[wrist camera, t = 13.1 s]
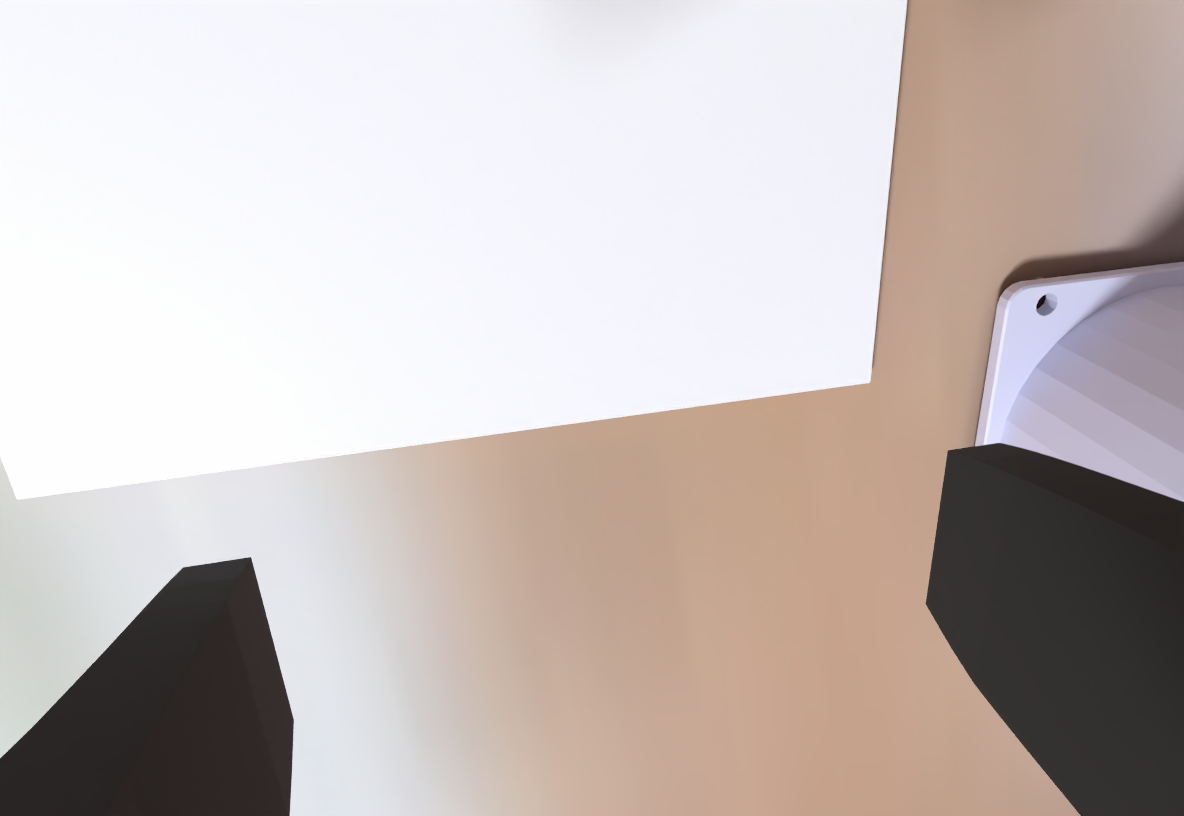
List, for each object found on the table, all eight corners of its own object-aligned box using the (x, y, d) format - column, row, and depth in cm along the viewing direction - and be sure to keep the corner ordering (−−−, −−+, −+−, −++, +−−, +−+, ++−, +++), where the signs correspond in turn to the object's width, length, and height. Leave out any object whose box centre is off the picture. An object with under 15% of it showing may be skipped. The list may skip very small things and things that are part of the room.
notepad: (923, -259, 15) (933, -263, 15) (864, 377, 21) (870, 382, 20) (-261, -246, 12) (-275, -251, 12) (23, 492, 18) (16, 499, 17)
